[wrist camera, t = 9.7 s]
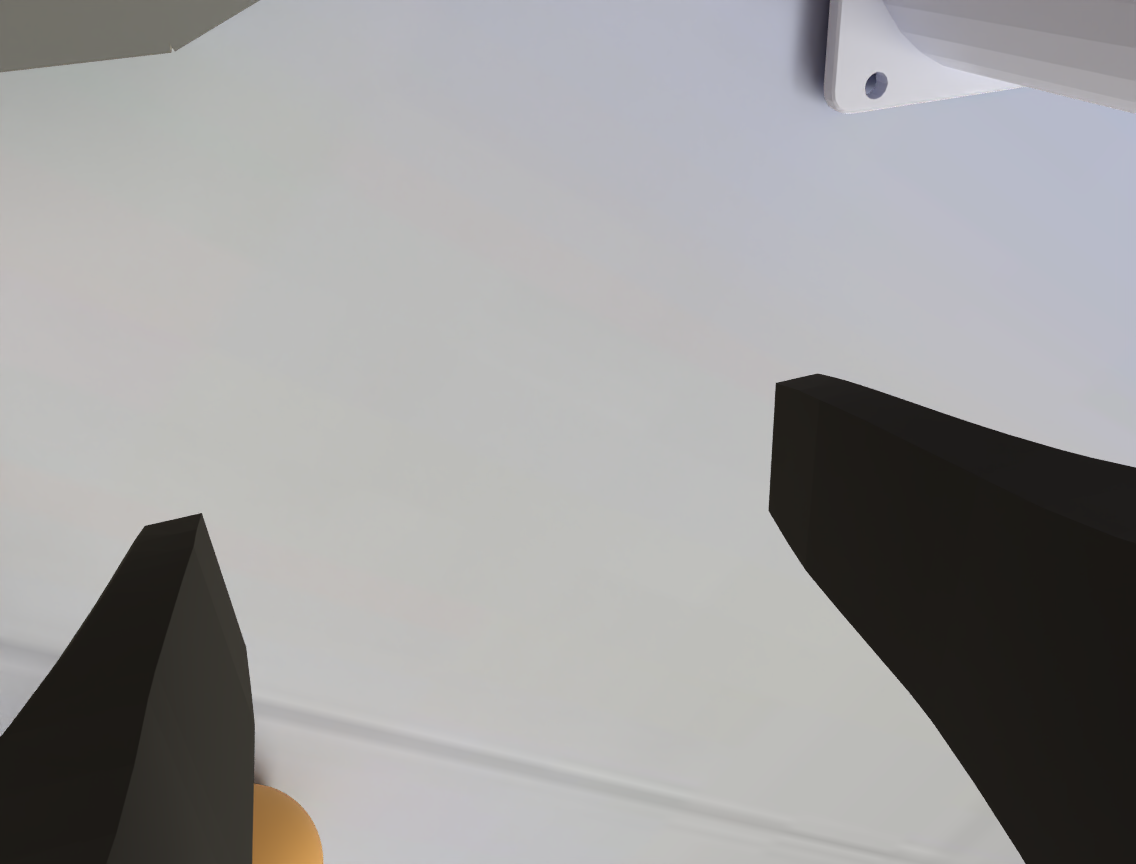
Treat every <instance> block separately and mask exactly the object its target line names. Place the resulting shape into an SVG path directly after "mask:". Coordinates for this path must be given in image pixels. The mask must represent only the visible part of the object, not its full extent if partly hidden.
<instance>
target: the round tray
mask: <svg viewBox="0 0 1136 864" xmlns="http://www.w3.org/2000/svg"><path fill="white" fill-rule="evenodd" d="M258 1H259V0H0V72H7V71H15V70H24V69H33V68H41V67H50V66H59V65H68V64H76V63H85V62H94V61H102V60H111V59H120V58H128V57H137V56H146V55H155V54H163V53H171V51H172V48H173V49H174V51H176V50H178V49H180V48H181V47H183V46H185V45H186V44H188V43H190V42H191V41H193V40H195V39H196V38H198V37H200V36H201V35H203V34H205V33H206V32H208V31H209V30H211V29H213V28H214V27H216V26H218V25H219V24H221V23H223V22H224V21H226V20H228V19H229V18H231V17H233V16H234V15H236V14H238V13H239V12H241V11H243V10H244V9H246V8H248V7H249V6H251V5H253V4H254V3H256V2H258Z"/></svg>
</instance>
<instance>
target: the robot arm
mask: <svg viewBox="0 0 1136 864" xmlns="http://www.w3.org/2000/svg"><path fill="white" fill-rule="evenodd" d="M874 73H875V74H876V84H875V87H874V89H873V90H872V91H871V92H870V93H869V94H867V95H866V93H865V85H866V82H867V80H868V78H869V77H870V76H871V75H872V74H874ZM1022 87H1029V88H1033V89H1037V90H1041V91H1045V92H1049V93H1053V94H1057V95H1061V96H1065V97H1069V98H1073V99H1077V100H1081V101H1085V102H1089V103H1093V104H1097V105H1101V106H1105V107H1109V108H1113V109H1118V110H1122V111H1126V112H1130V113H1134V114H1136V0H830V8H829V22H828V36H827V49H826V63H825V76H824V99H825V100H826V102H827V104H828V106H829V107H831V108H832V109H834V110H836V111H838V112H841V113H847V114H853V113H860V112H866V111H873V110H879V109H886V108H892V107H899V106H905V105H912V104H918V103H925V102H931V101H938V100H944V99H950V98H957V97H963V96H970V95H976V94H983V93H989V92H996V91H1002V90H1009V89H1015V88H1022ZM769 512H770V514H771V515H772V517H773V519H774V521H775V522H776V524H777V526H778V527H779V529H780V531H781V532H782V534H783V536H784V537H785V539H786V541H787V542H788V544H789V545H790V547H791V549H792V550H793V552H794V553H795V555H796V556H797V558H798V559H799V561H800V562H801V564H802V565H803V567H804V568H805V570H806V571H807V572H808V574H809V575H810V576H811V577H812V579H813V580H814V581H815V582H816V583H817V585H818V586H819V587H820V588H821V589H822V591H823V592H824V593H825V594H826V595H827V597H828V598H829V599H830V600H831V601H832V603H833V604H834V605H835V606H836V607H837V609H838V610H839V611H840V612H841V613H842V614H843V616H844V617H845V618H846V619H847V620H848V621H849V623H850V624H851V625H852V626H853V627H854V628H855V630H856V631H857V632H858V633H859V634H860V635H861V637H862V638H863V639H864V640H865V641H866V642H867V644H868V645H869V646H870V647H871V648H872V649H873V651H874V652H875V653H876V654H877V655H878V656H879V658H880V659H881V660H882V661H883V662H884V663H885V665H886V666H887V667H888V668H889V669H890V670H891V672H892V673H893V674H894V675H895V676H896V677H897V679H898V680H899V681H900V682H901V683H902V684H903V686H904V687H905V688H906V689H907V690H908V691H909V693H910V694H911V695H912V696H913V698H914V699H915V700H916V702H917V703H918V704H919V705H920V707H921V708H922V709H923V711H924V712H925V713H926V714H927V716H928V717H929V718H930V719H931V721H932V722H933V724H934V725H935V726H936V728H937V729H938V731H939V732H940V734H941V735H942V737H943V738H944V740H945V741H946V743H947V744H948V745H949V747H950V748H951V750H952V751H953V753H954V754H955V756H956V757H957V759H958V760H959V761H960V763H961V764H962V766H963V767H964V769H965V770H966V772H967V773H968V775H969V776H970V778H971V779H972V780H973V782H974V783H975V785H976V786H977V788H978V790H979V791H980V793H981V794H982V796H983V797H984V799H985V800H986V802H987V804H988V805H989V807H990V808H991V810H992V811H993V813H994V815H995V816H996V818H997V819H998V821H999V822H1000V824H1001V825H1002V827H1003V829H1004V830H1005V832H1006V833H1007V835H1008V836H1009V838H1010V839H1011V841H1012V843H1013V844H1014V846H1015V847H1016V849H1017V850H1018V852H1019V854H1020V855H1021V857H1022V859H1023V860H1024V862H1025V864H1136V468H1135V467H1130V466H1126V465H1122V464H1117V463H1113V462H1108V461H1104V460H1099V459H1095V458H1090V457H1086V456H1083V455H1079V454H1075V453H1071V452H1067V451H1063V450H1059V449H1056V448H1053V447H1049V446H1046V445H1042V444H1039V443H1035V442H1032V441H1028V440H1025V439H1022V438H1018V437H1015V436H1011V435H1008V434H1005V433H1002V432H998V431H995V430H992V429H989V428H986V427H983V426H980V425H977V424H974V423H970V422H967V421H964V420H961V419H958V418H956V417H953V416H950V415H947V414H944V413H941V412H938V411H935V410H932V409H929V408H926V407H923V406H920V405H918V404H915V403H912V402H909V401H906V400H903V399H900V398H897V397H894V396H891V395H889V394H886V393H883V392H880V391H877V390H874V389H871V388H868V387H864V386H861V385H858V384H855V383H852V382H849V381H845V380H842V379H838V378H834V377H830V376H826V375H822V374H814V375H809V376H805V377H800V378H796V379H791V380H787V381H783V382H778V383H776V391H775V408H774V426H773V443H772V461H771V478H770V496H769ZM254 743H255V723H254V713H253V704H252V694H251V685H250V677H249V668H248V660H247V651H246V646H245V643H244V640H243V637H242V634H241V631H240V628H239V625H238V622H237V619H236V616H235V613H234V610H233V606H232V603H231V600H230V597H229V594H228V591H227V588H226V585H225V582H224V579H223V576H222V573H221V570H220V567H219V564H218V561H217V558H216V555H215V552H214V549H213V546H212V543H211V540H210V537H209V534H208V531H207V528H206V525H205V522H204V519H203V516H202V513H200V514H196V515H191V516H187V517H183V518H178V519H174V520H169V521H165V522H161V523H156V524H152V525H147V526H145V527H144V528H143V529H142V531H141V532H140V534H139V535H138V536H137V538H136V539H135V541H134V543H133V544H132V546H131V547H130V549H129V551H128V552H127V554H126V555H125V557H124V559H123V560H122V562H121V564H120V565H119V567H118V569H117V570H116V572H115V574H114V575H113V577H112V578H111V580H110V582H109V583H108V585H107V587H106V588H105V590H104V591H103V593H102V595H101V596H100V598H99V599H98V601H97V603H96V604H95V606H94V607H93V609H92V610H91V612H90V613H89V615H88V616H87V618H86V619H85V621H84V622H83V624H82V625H81V627H80V628H79V630H78V631H77V633H76V634H75V636H74V637H73V639H72V640H71V642H70V643H69V645H68V646H67V648H66V649H65V651H64V652H63V654H62V655H61V657H60V658H59V660H58V661H57V663H56V664H55V665H54V667H53V668H52V670H51V671H50V672H49V674H48V675H47V676H46V678H45V679H44V680H43V682H42V683H41V684H40V686H39V687H38V688H37V690H36V691H35V692H34V694H33V695H32V696H31V698H30V699H29V700H28V702H27V703H26V704H25V706H24V707H23V708H22V710H21V711H20V712H19V714H18V715H17V716H16V718H15V719H14V720H13V722H12V723H11V724H10V726H9V727H8V728H7V729H6V731H5V732H4V733H3V734H2V736H1V737H0V864H252V851H253V803H254Z"/></svg>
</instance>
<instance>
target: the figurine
mask: <svg viewBox="0 0 1136 864" xmlns="http://www.w3.org/2000/svg"><path fill="white" fill-rule="evenodd" d="M252 864H323V852H322V846H321V841H320V838H319V834H318V832H317V829H316V827H315V825H314V823H313V821H312V820H311V818H310V816H309V815H308V814H307V812H306V811H305V810H304V809H303V807H302V806H301V805H300V804H299V803H297V802H296V801H295V800H294V799H293V798H291V797H290V796H288V795H287V794H285V793H283V792H281V791H279V790H277V789H274V788H272V787H268V786H265V785H260V784H254V803H253V851H252Z"/></svg>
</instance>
